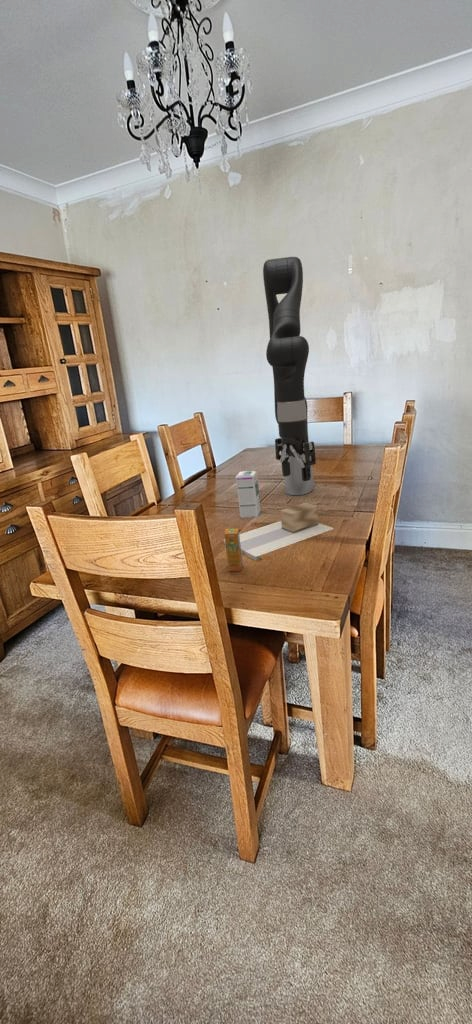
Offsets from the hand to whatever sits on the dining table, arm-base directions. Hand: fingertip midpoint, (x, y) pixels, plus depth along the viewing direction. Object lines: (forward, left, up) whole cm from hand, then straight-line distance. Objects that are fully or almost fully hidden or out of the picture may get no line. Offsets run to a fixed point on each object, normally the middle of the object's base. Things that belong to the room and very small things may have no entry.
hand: (296, 478), depth 130 cm
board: (+7, 0, -15) cm, 17 cm away
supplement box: (+26, +8, -16) cm, 32 cm away
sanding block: (0, 0, -14) cm, 14 cm away
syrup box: (+3, -20, -16) cm, 26 cm away
